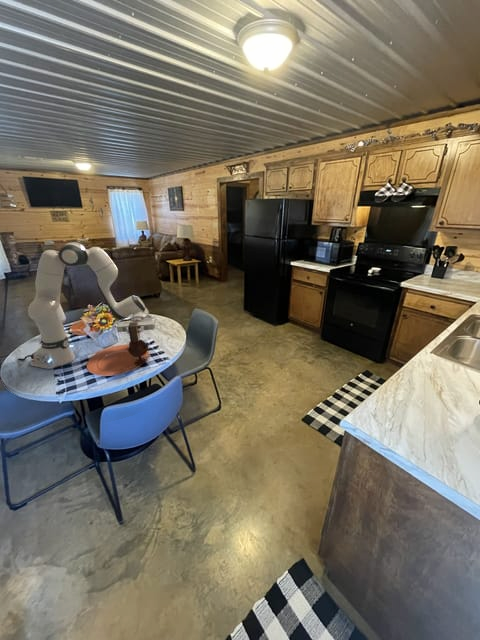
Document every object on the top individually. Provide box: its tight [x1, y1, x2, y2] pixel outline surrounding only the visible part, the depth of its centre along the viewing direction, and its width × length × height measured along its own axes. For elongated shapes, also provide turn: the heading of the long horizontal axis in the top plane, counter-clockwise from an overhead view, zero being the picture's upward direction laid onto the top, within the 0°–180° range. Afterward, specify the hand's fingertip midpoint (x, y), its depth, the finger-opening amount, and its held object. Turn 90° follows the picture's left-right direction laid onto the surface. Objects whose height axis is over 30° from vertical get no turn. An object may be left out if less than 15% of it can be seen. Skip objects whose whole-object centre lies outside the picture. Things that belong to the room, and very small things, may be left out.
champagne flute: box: [57, 303, 71, 338], centre depth 177 cm, size 7×7×24 cm
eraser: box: [128, 322, 141, 342], centre depth 141 cm, size 4×6×9 cm
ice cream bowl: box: [127, 339, 149, 366], centre depth 148 cm, size 11×11×15 cm
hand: (133, 331), depth 140 cm, fingers closed on eraser, 4 cm apart
